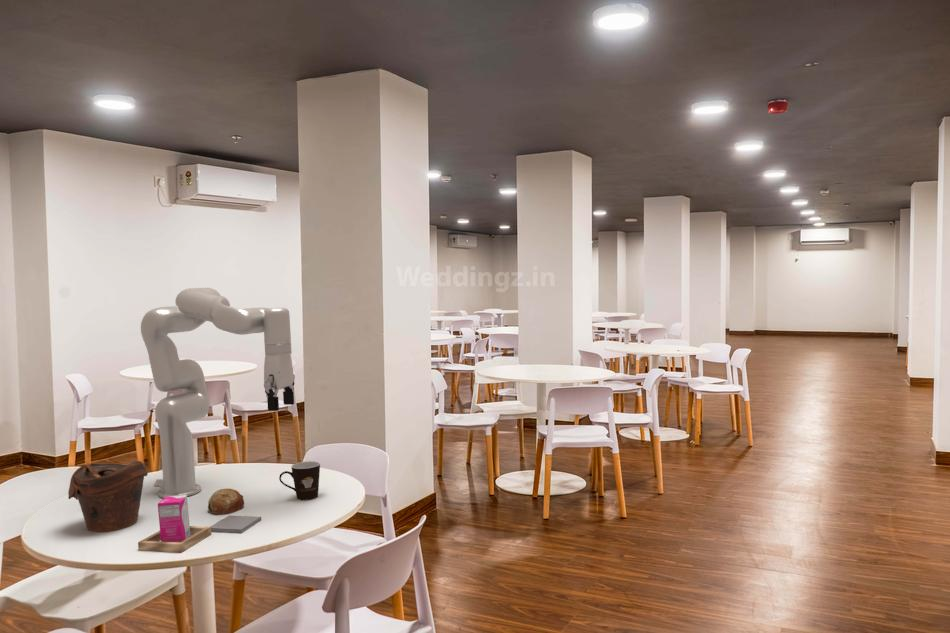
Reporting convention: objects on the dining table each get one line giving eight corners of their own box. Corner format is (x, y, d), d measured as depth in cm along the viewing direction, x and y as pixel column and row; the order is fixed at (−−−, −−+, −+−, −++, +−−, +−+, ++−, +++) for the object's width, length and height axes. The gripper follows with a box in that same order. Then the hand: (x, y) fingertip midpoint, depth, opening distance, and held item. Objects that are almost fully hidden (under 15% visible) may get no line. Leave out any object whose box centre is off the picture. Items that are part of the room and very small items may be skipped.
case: (74, 520, 200) (70, 459, 199) (151, 509, 208) (147, 450, 207) (66, 541, 184) (61, 475, 183) (149, 528, 192) (145, 465, 191)
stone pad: (208, 531, 187) (207, 527, 187) (229, 518, 196) (229, 515, 196) (241, 533, 184) (241, 529, 184) (261, 520, 194) (260, 516, 194)
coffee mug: (325, 492, 218) (323, 461, 217) (316, 501, 209) (314, 468, 209) (289, 493, 219) (287, 461, 218) (279, 501, 210) (277, 469, 210)
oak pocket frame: (138, 550, 175) (137, 542, 175) (170, 532, 187) (170, 525, 187) (181, 552, 172) (181, 544, 172) (211, 534, 184) (210, 526, 184)
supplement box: (168, 538, 182) (165, 495, 182) (191, 537, 183) (188, 494, 182) (159, 547, 177) (157, 502, 176) (183, 545, 177) (181, 501, 177)
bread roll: (208, 520, 207) (196, 499, 204) (236, 498, 213) (224, 477, 210) (224, 527, 200) (212, 506, 197) (253, 504, 207) (241, 483, 204)
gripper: (280, 347, 214) (283, 402, 215) (251, 353, 197) (255, 413, 198) (302, 346, 213) (305, 402, 213) (276, 352, 196) (279, 413, 196)
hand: (281, 407), depth 206 cm, fingers open, 9 cm apart
